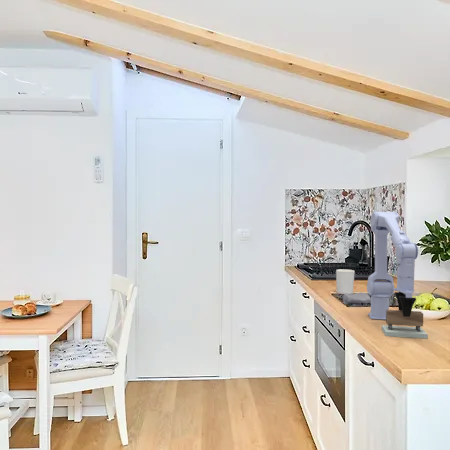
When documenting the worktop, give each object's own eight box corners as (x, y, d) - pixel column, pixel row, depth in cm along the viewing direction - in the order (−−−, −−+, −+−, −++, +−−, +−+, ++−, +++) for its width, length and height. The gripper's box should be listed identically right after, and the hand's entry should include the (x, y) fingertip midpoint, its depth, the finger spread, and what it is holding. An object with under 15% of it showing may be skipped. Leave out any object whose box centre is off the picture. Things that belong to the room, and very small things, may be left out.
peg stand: (381, 329, 180) (381, 319, 179) (421, 331, 177) (421, 322, 177) (385, 336, 170) (386, 326, 170) (427, 338, 167) (427, 328, 167)
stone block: (372, 307, 229) (365, 299, 238) (373, 298, 228) (366, 290, 237) (348, 308, 228) (341, 300, 238) (348, 299, 227) (342, 291, 237)
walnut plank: (385, 321, 176) (386, 309, 176) (420, 323, 174) (420, 311, 174) (387, 324, 172) (388, 311, 172) (422, 326, 170) (423, 313, 170)
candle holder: (331, 292, 257) (332, 270, 257) (341, 290, 265) (341, 268, 264) (348, 295, 251) (349, 272, 250) (357, 292, 258) (358, 270, 258)
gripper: (390, 273, 181) (389, 309, 181) (397, 279, 166) (396, 318, 167) (410, 274, 179) (409, 310, 180) (419, 280, 165) (417, 319, 166)
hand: (404, 314), depth 173 cm, fingers open, 7 cm apart
